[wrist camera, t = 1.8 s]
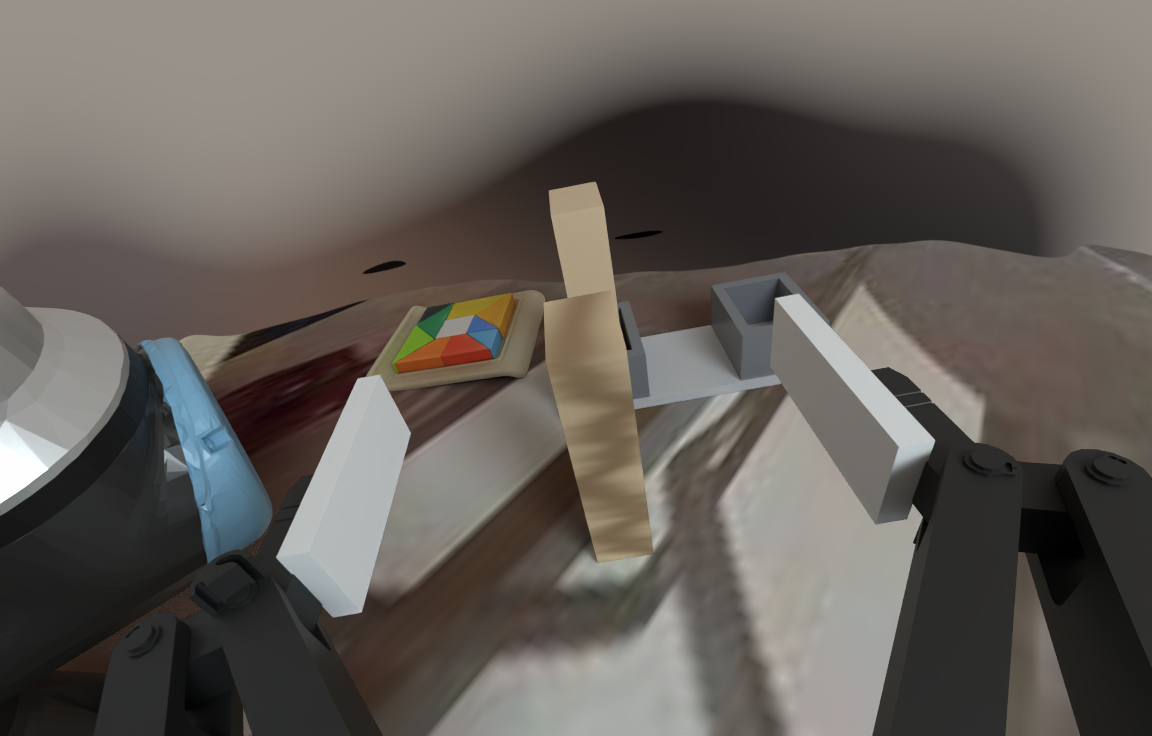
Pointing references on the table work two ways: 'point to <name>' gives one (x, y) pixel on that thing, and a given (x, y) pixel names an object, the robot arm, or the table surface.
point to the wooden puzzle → (462, 342)
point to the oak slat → (599, 421)
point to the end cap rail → (682, 358)
